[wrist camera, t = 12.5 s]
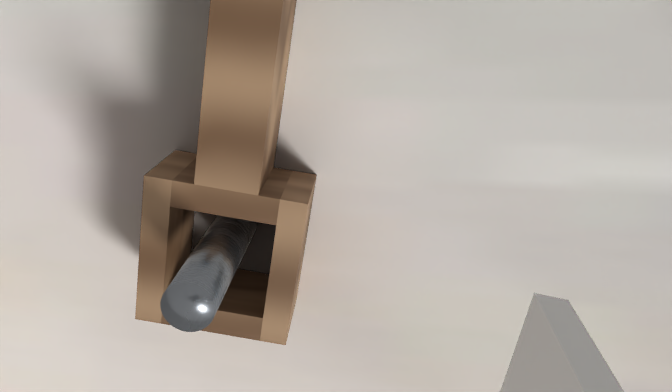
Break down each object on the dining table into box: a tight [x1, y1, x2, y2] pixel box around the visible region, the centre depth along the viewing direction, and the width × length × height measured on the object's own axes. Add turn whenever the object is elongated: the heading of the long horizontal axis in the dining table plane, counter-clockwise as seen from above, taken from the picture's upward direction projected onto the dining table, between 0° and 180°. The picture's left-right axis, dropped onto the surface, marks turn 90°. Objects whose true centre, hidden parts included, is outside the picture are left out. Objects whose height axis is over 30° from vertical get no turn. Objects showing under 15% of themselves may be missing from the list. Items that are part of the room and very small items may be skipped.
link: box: [135, 0, 317, 345], centre depth 30 cm, size 25×8×5 cm, turn 171°
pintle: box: [160, 215, 257, 332], centre depth 30 cm, size 2×2×10 cm
